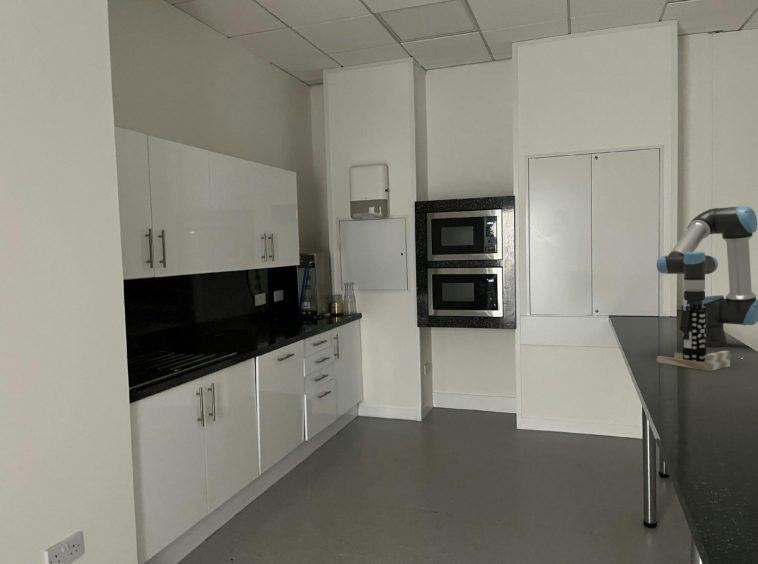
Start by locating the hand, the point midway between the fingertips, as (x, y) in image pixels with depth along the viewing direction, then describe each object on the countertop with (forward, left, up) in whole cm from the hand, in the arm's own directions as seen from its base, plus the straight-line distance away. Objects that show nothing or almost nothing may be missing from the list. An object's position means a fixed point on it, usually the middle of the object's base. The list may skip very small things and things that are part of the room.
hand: (694, 346), depth 238 cm
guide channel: (0, -2, -7) cm, 8 cm away
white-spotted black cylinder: (0, 0, -6) cm, 6 cm away
